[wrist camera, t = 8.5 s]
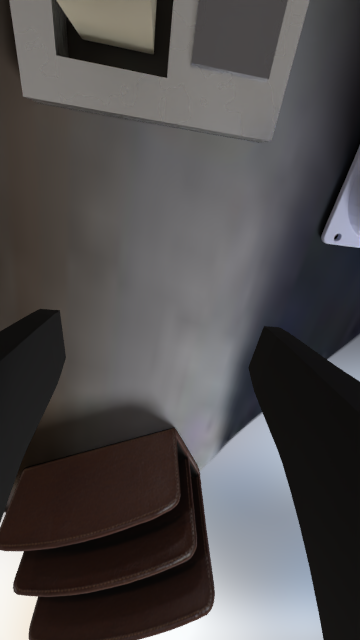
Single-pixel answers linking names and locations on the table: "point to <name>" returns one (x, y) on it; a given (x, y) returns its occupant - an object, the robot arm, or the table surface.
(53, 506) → the letter holder
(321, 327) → the table surface
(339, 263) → the table surface
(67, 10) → the plug
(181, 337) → the table surface
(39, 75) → the panel
